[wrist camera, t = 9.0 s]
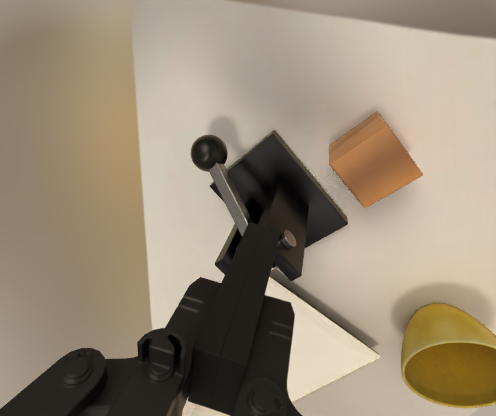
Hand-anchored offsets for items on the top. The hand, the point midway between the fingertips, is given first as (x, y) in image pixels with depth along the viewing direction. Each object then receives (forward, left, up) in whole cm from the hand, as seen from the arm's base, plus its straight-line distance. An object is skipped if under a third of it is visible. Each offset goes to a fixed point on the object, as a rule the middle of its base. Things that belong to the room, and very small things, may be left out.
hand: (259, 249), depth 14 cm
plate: (+21, -19, -18) cm, 33 cm away
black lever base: (+4, -5, -17) cm, 19 cm away
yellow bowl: (+27, 0, -18) cm, 32 cm away
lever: (0, -5, -11) cm, 13 cm away
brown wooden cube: (+5, +5, -17) cm, 19 cm away
